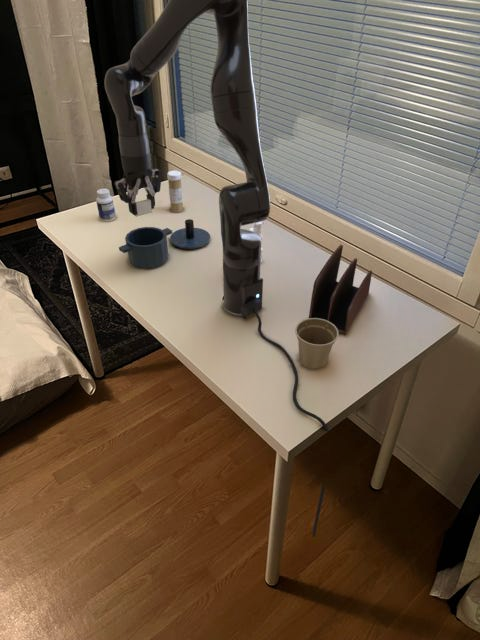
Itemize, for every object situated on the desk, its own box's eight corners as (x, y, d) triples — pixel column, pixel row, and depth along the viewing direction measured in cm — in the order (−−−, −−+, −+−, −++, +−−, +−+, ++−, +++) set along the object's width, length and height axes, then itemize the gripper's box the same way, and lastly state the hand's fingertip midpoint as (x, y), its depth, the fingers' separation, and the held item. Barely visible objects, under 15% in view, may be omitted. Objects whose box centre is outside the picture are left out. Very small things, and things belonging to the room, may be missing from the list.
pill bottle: (99, 215, 169) (93, 188, 163) (114, 213, 171) (110, 186, 164) (100, 222, 165) (95, 195, 159) (116, 220, 167) (112, 193, 160)
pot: (183, 255, 149) (181, 233, 144) (135, 277, 140) (132, 254, 135) (160, 241, 156) (158, 220, 151) (113, 261, 146) (109, 239, 142)
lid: (218, 240, 156) (218, 221, 152) (187, 255, 149) (185, 235, 145) (193, 226, 163) (192, 208, 159) (162, 239, 156) (160, 220, 152)
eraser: (152, 212, 139) (150, 200, 137) (136, 216, 137) (134, 204, 135) (150, 210, 140) (148, 198, 137) (134, 215, 138) (132, 202, 136)
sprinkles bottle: (178, 205, 175) (176, 168, 167) (186, 210, 173) (183, 172, 164) (167, 209, 173) (164, 172, 165) (175, 214, 170) (172, 176, 162)
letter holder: (307, 324, 124) (312, 276, 115) (333, 284, 137) (340, 239, 129) (345, 336, 120) (354, 288, 111) (369, 294, 134) (378, 248, 125)
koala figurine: (256, 251, 151) (257, 215, 144) (271, 260, 147) (273, 223, 140) (234, 261, 147) (234, 224, 139) (250, 270, 143) (250, 233, 135)
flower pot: (329, 346, 117) (334, 317, 112) (337, 374, 110) (342, 344, 105) (290, 346, 117) (292, 318, 112) (295, 375, 110) (298, 345, 104)
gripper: (149, 140, 133) (156, 199, 144) (102, 153, 125) (113, 214, 136) (166, 147, 129) (171, 207, 140) (118, 161, 121) (128, 224, 132)
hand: (142, 210), depth 138 cm, fingers closed on eraser, 5 cm apart
